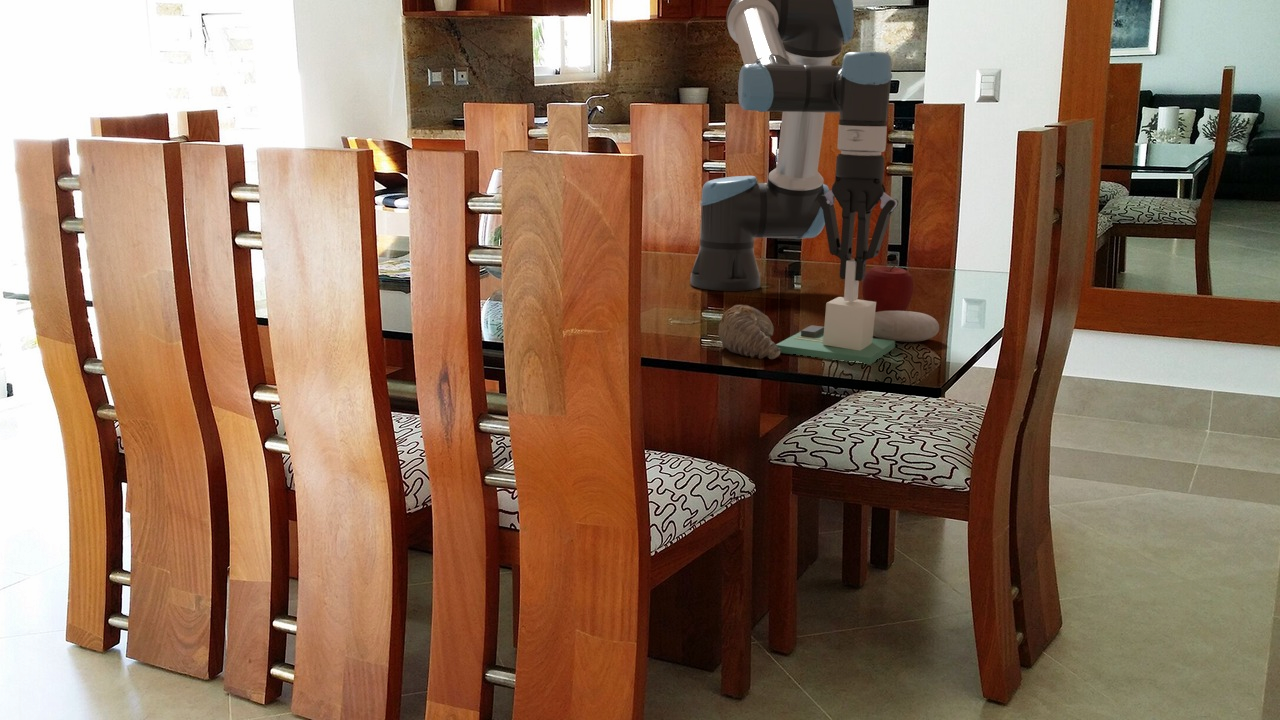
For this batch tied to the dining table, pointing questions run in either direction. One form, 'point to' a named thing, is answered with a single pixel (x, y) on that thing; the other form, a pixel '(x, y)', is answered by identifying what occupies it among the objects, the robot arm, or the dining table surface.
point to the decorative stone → (904, 326)
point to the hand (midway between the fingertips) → (850, 299)
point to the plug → (849, 323)
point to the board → (832, 347)
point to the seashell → (748, 332)
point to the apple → (888, 288)
